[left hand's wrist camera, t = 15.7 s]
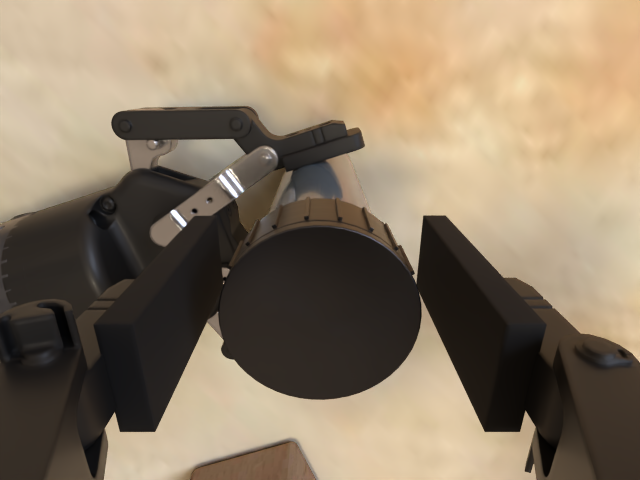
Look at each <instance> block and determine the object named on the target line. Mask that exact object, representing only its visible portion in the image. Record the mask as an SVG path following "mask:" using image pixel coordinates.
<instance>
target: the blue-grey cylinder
mask: <svg viewBox="0 0 640 480" xmlns="http://www.w3.org/2000/svg"><path fill="white" fill-rule="evenodd" d="M306 197H310V199H313V198H328V199H336V198H340V201H344V202H348V203H351V204H353V205H356V206H358V207H360V208H363V207H365V208H367V211H368V212H369V213H371V211H370V209H369V206H368V203H367V201H366V198H365V196H364V193H363V191H362V188H361V185H360V183H359V180H358V178H357V175H356V173H355V170H354V167H353V165H352V162H351V160H350V158H349V156H348V155H347V153H346V154H343V155H340V156H337V157H334V158H331V159H327V160H324V161H321V162H318V163H315V164H312V165H308V166H304V167H302V168H299V169H296V170H292V171H289V172H286V170H285V171H284V174H283V177H282V179H281V182H280V184H279V187H278V189H277V192H276V195H275V197H274V200H273V202H272V205H271V207H270V210H269V213H270V212H272V211H274V210H276V209H277V208H278V205H280V204H282V206H284V205H286V204H289V203H292V202H295V201H300V200H304V199H306ZM269 213H268V214H269Z"/></svg>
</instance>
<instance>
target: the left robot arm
mask: <svg viewBox="0 0 640 480" xmlns="http://www.w3.org/2000/svg"><path fill="white" fill-rule="evenodd" d="M416 285H417V288H418V291H419V293H420V295H421V297H422V299H423V301H424V303H425V305H426V308H427V310H428V312H429V314H430V316H431V318H432V320H433V322H434V325H435V327H436V329H437V331H438V333H439V335H440V337H441V340H442V342H443V344H444V346H445V348H446V350H447V352H448V354H449V357H450V359H451V361H452V363H453V365H454V367H455V369H456V371H457V374H458V376H459V378H460V380H461V382H462V384H463V386H464V388H465V391H466V393H467V395H468V397H469V399H470V401H471V403H472V406H473V408H474V410H475V412H476V414H477V416H478V418H479V420H480V423H481V425H482V427H483V429H484V431H485V432H520V430H521V426H522V422H523V418H524V414H525V410H526V412H527V413H528V415H529V417H530V418H531V420H532V421H533V423H534V425H535V426H536V428H535V432H534V435H533V439H532V443H531V447H530V450H529V454H528V458H527V461H526V467H525V472H529V473H531V470H532V466H533V464H535V472H536V479H537V480H640V363H639V361H638V360H637V359H636V358H635V357H634V355H633V354H632V353H631V352H629V351H628V350H626V349H625V348H623V347H622V346H620V345H618V344H616V343H614V342H611V341H609V340H607V339H604V338H601V337H597V336H593V335H589V334H580V333H579V332H578V331H577V330H576V329H575V328H574V327H573V326H572V325H571V324H570V323H569V322H568V321H567V320H566V319H565V318H564V317H563V316H562V315H561V314H560V313H559V312H558V311H557V310H556V309H553V308H552V305H550V304H549V303H548V302H547V301H546V300H543V297H542V296H541V295H540V294H539V293H538V292H537V291H536V290H535V289H534V288H533V287H532V286H530V285H528V284H526V283H524V282H522V281H520V280H519V279H517V278H503V277H502V276H501V275H500V274H499V273H498V272H497V270H496V269H495V268H494V267H493V266H492V265H491V264H490V263H489V262H488V261H487V260H486V259H485V258H484V256H483V255H482V254H481V253H480V252H479V251H478V250H477V249H476V248H475V247H474V246H473V245H472V244H471V242H470V241H469V240H468V239H467V238H466V237H465V236H464V235H463V234H462V233H461V232H460V231H459V230H458V229H457V227H456V226H455V225H454V224H453V223H452V222H451V221H450V220H449V219H448V218H447V217H446V216H423V225H422V235H421V245H420V255H419V264H418V274H417V284H416ZM222 287H223V274H222V264H221V255H220V245H219V235H218V225H217V216H194V217H193V218H192V219H191V220H190V221H189V222H188V223H187V224H186V225H185V226H184V227H183V229H182V230H181V231H180V232H179V233H178V234H177V235H176V236H175V237H174V238H173V239H172V240H171V241H170V242H169V244H168V245H167V246H166V247H165V248H164V249H163V250H162V251H161V252H160V253H159V254H158V255H157V256H156V258H155V259H154V260H153V261H152V262H151V263H150V264H149V265H148V266H147V267H146V268H145V269H144V270H143V272H142V273H141V274H140V275H139V276H138V277H137V278H136V279H124V280H122V281H120V282H119V283H117V284H115V285H113V286H111V287H109V288H108V289H107V290H106V291H105V292H104V293H103V294H102V295H101V296H100V297H99V298H97V301H94V302H93V303H92V304H91V305H90V306H89V307H88V310H85V311H84V312H83V313H82V314H81V315H80V316H79V317H78V318H77V319H76V320H75V316H74V313H73V309H72V305H71V304H70V303H68V302H67V301H65V300H58V299H47V300H38V301H34V302H29V303H25V304H22V305H19V306H17V307H14V308H11V309H9V310H7V311H5V312H3V313H1V314H0V361H1V363H0V480H104V473H105V465H106V458H107V450H108V441H107V435H106V432H105V427H106V425H107V424H108V422H109V420H110V419H111V417H112V415H113V414H114V412H115V414H116V418H117V422H118V426H119V430H120V432H155V431H156V429H157V427H158V425H159V423H160V420H161V418H162V416H163V414H164V412H165V410H166V408H167V406H168V403H169V401H170V399H171V397H172V395H173V393H174V391H175V388H176V386H177V384H178V382H179V380H180V378H181V376H182V374H183V371H184V369H185V367H186V365H187V363H188V361H189V359H190V357H191V354H192V352H193V350H194V348H195V346H196V344H197V342H198V340H199V337H200V335H201V333H202V331H203V329H204V327H205V325H206V322H207V320H208V318H209V316H210V314H211V312H212V310H213V308H214V305H215V303H216V301H217V299H218V297H219V295H220V291H221V289H222Z"/></svg>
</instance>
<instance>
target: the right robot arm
mask: <svg viewBox="0 0 640 480" xmlns="http://www.w3.org/2000/svg"><path fill="white" fill-rule="evenodd" d="M111 124H112V129H113V131H114V132H115V134H116V135H117V136H118V137H120V138H121V139H124V140H126V145H127V150H128V155H129V161H130V166H131V171H130V172H128V173H127V174H126V175H125V176H124V177H123V178H122V180H121V181H120V182H119V183H118V184H117V185H116V186H114V187H111V188H108V189H105V190H102V191H99V192H96V193H93V194H90V195H87V196H84V197H81V198H78V199H75V200H72V201H68V202H65V203H62V204H59V205H56V206H53V207H50V208H47V209H44V210H41V211H38V212H32V213H26V214H22V215H18V216H15V217H14V218H13V219H11V220H10V221H7V222H4V223H1V224H0V314H1V313H3V312H5V311H7V310H9V309H11V308H14V307H17V306H19V305H22V304H25V303H29V302H34V301H38V300H47V299H58V300H65V301H67V302H68V303H70V304H71V305H72V309H73V313H74V316H75V320H76V319H77V318H78V317H79V316H80V315H81V314H82V313H83V312H84V311H85V310H88V307H89V306H90V305H91V304H92V303H93V302H94V301H97V298H99V297H100V296H101V295H102V294H103V293H104V292H105V291H106V290H107V289H108V288H109V287H111V286H113V285H115V284H117V283H119V282H120V281H122V280H124V279H136V278H137V277H138V276H139V275H140V274H141V273H142V272H143V270H144V269H145V268H146V267H147V266H148V265H149V264H150V263H151V262H152V261H153V260H154V259H155V258H156V256H157V255H158V254H159V253H160V252H161V251H162V250H163V249H164V248H165V247H166V246H167V245H168V244H169V242H170V241H171V240H172V239H173V238H174V237H175V236H176V235H177V234H178V233H179V232H180V231H181V230H182V229H183V227H184V226H185V225H186V224H187V223H188V222H189V221H190V220H191V219H192V218H193V217H194V216H217V225H218V235H219V245H220V255H221V264H222V274H223V284H224V282H225V279H226V277H227V275H228V273H229V271H230V270H229V269H227V268H228V266H229V264H230V261H231V259H232V257H233V255H234V253H235V251H236V249H237V247H238V245H239V243H240V241H241V240H242V241H244V240H245V238H246V237H247V235H248V232H247V231H246V230H245V228H244V227H243V226H242V224H241V223H240V221H239V214H238V207H237V204H236V202H235V199H236V198H237V197H238V196H239V195H240V194H241V193H243V192H244V191H245V190H246V189H248V188H249V187H251V186H252V185H254V184H255V183H256V182H258V181H259V180H261V179H262V178H263V177H265V176H266V175H268V174H269V173H271V172H272V171H274V170H277V169H280V168H284V167H285V170H286V172H289V171H292V170H296V169H299V168H302V167H304V166H308V165H312V164H315V163H318V162H321V161H324V160H327V159H331V158H334V157H337V156H340V155H343V154H346V153H350V152H353V151H356V150H359V149H361V148H363V147H364V146H365V145H364V141H363V137H362V133H361V130H360V129H359V128H352V129H349V130H346V126H345V124H344V122H343V121H335V120H331V121H328V122H325V123H322V124H319V125H316V126H313V127H309V128H306V129H303V130H300V131H297V132H294V133H291V134H288V135H285V136H276V135H273V134H271V133H270V132H269V131H268V130H267V129H266V128H265V126H264V125H263V124H262V123H261V121H260V120H259V118H258V115H257V113H256V111H255V110H254V109H252V108H251V107H248V106H227V107H158V108H140V109H133V110H127V111H121V112H118V113H116V114H115V115H114V116H113V118H112V122H111ZM183 139H234V140H235V141H236V142H237V144H238V145H239V146H240V147H241V148H242V150H243V151H244V152H245V153H246V154H245V155H243V156H242V157H241V158H239V159H238V160H236V161H235V162H233V163H232V164H230V165H229V166H228V167H226V168H225V169H224V170H222V171H221V172H219V173H218V174H217V175H215V176H214V177H213V178H211V179H210V180H209V181H205V180H202V179H199V178H196V177H193V176H190V175H187V174H183V173H180V172H177V171H174V170H171V169H168V168H165V167H161V166H158V159H159V157H160V156H161V155H165V154H167V153H169V152H171V151H173V150H174V149H175V148H176V147H177V144H178V140H183ZM382 223H383V222H382ZM383 224H384V223H383ZM219 298H220V295H219V297H218V299H217V301H216V303H215V305H214V308H213V310H212V312H211V314H210V316H209V318H208V320H207V322H208V323H209V324H210V325H211V326H212V328H213V329H214V330H215V331H216V332H217V333H218V334H219V335H220V336H221V337H222V334H221V330H220V326H219V318H218V306H219ZM222 338H223V337H222ZM221 351H222V354H223V355H224V356H225V357H227V358H229V359H234V358H233V357H232V356H231V354H230V352H229V350H228V349H227V347H226V345H225V342H223V345H222V348H221ZM0 363H1V361H0Z"/></svg>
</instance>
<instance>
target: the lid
mask: <svg viewBox="0 0 640 480" xmlns="http://www.w3.org/2000/svg"><path fill="white" fill-rule="evenodd" d="M227 269H229V270H230V271H229V273H228V275H227V277H226V279H225V282H224V284H223V287H222V289H221V291H220V298H219V306H218V318H219V326H220V330H221V334H222V337H223V340H224V342H225V345H226V347H227V349H228V350H229V352H230V354H231V356H232V357H233V358H234V360H235V361H236V362H237V363H238V365H239V366H240V367H241V368H242V369H243V370H244V371H245V372H246V373H247V374H249V375H250V376H251V377H252V378H254V379H255V380H256V381H258V382H260V383H261V384H263V385H264V386H266V387H268V388H270V389H273V390H275V391H277V392H280V393H283V394H286V395H289V396H293V397H298V398H304V399H319V400H325V399H336V398H341V397H347V396H350V395H354V394H357V393H360V392H362V391H365V390H367V389H369V388H371V387H373V386H375V385H377V384H379V383H380V382H382V381H383V380H385V379H386V378H387V377H389V376H390V375H391V374H392V373H393V372H394V371H395V370H397V369H398V368H399V366H400V365H401V364H402V363H403V362H404V360H405V359H406V358H407V356H408V355H409V353H410V352H411V350H412V348H413V346H414V344H415V341H416V339H417V336H418V332H419V329H420V323H421V301H420V295H419V291H418V288H417V285H416V282H415V280H414V278H413V276H412V275H414V274H415V273H414V271H413V268H412V266H411V264H410V262H409V260H408V258H407V256H406V254H405V252H404V250H403V248H402V246H401V245H399V246H398V245H397V243H396V241H395V239H394V237H393V235H392V233H391V230H390V228H389V226H388V225H387V224H386V223H385V224H383V223H382V222H381V221H380V220H378V219H377V218H376V217H375V216H373V215H372V214H371V213H369V212H368V211H367V208H365V207H363V208H360V207H358V206H356V205H353V204H351V203H348V202H344V201H340V198H336V199H328V198H313V199H310V197H306V199H304V200H300V201H295V202H292V203H289V204H286V205H284V206H282V204H280V205H278V208H277V209H276V210H274V211H272V212H270V213H269V214H268V215H266V216H265V217H264V218H262V219H261V220H260V221H259V220H258V219H257V220H256V221H255V223H254V226H253V228H252V230H251V231H250V232H249V233H248V235H247V237H246V238H245V240H244V241H242V240H241V241H240V243H239V245H238V247H237V249H236V251H235V253H234V255H233V257H232V259H231V261H230V264H229V266H228V268H227Z"/></svg>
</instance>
